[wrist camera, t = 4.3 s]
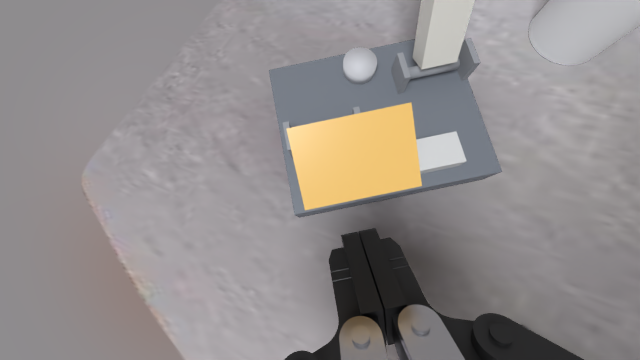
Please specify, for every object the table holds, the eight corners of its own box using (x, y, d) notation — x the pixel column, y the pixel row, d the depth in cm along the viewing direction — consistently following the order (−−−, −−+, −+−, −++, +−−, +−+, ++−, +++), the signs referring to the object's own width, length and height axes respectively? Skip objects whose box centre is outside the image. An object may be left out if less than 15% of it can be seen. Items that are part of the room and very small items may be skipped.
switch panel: (437, 53, 28) (462, 10, 23) (482, 179, 25) (522, 163, 19) (275, 87, 28) (262, 52, 23) (299, 217, 25) (289, 211, 20)
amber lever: (346, 116, 22) (434, 97, 7) (351, 141, 23) (444, 181, 7) (296, 127, 23) (262, 133, 7) (301, 152, 23) (283, 215, 7)
